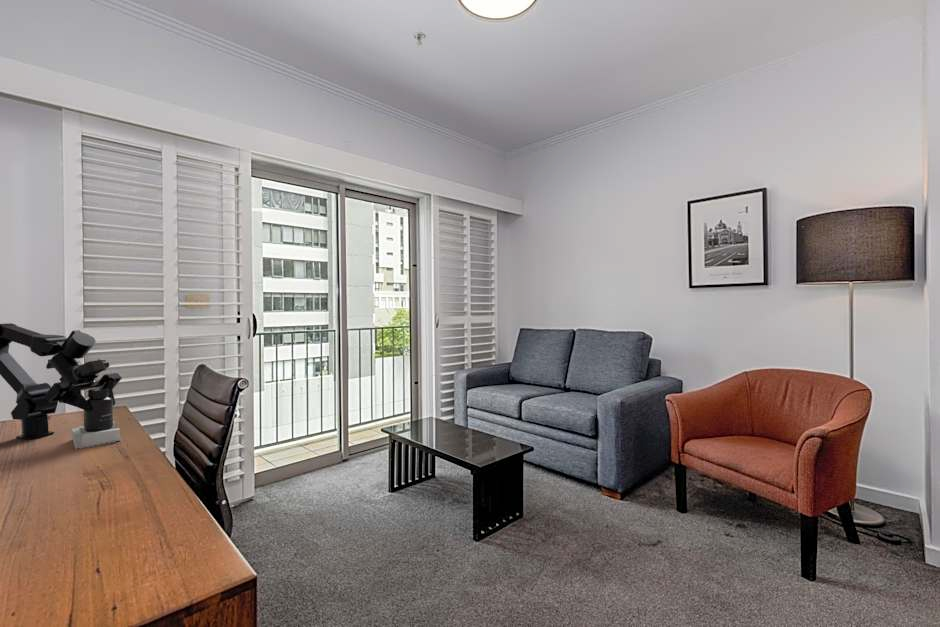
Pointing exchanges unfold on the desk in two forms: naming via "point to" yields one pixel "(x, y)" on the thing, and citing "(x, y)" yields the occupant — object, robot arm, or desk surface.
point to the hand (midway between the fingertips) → (102, 407)
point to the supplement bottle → (99, 411)
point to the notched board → (94, 437)
